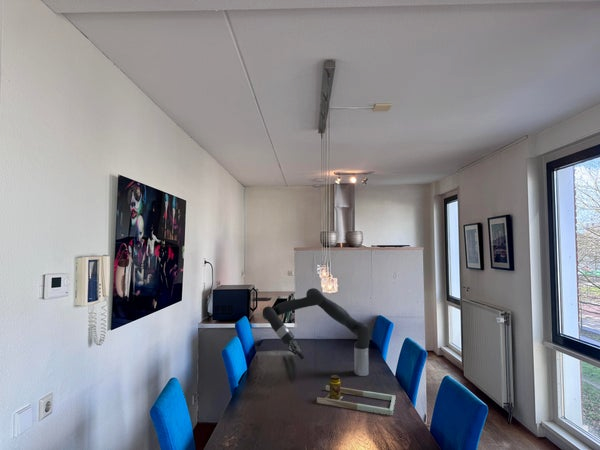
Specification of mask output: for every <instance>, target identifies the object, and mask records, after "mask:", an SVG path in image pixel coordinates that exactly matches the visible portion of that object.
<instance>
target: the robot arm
mask: <svg viewBox="0 0 600 450" xmlns="http://www.w3.org/2000/svg"><path fill="white" fill-rule="evenodd" d="M305 295H306V296H305V297H302V298H297V299H296V298H295V299H289V300H285V301H283V302H279V303H277V304H276V305H275V306H272V307H271V306H269V305H268V306H265V307H263V309H262V318H263V319H264V320H266V321H267V322H268V323H269V324H270V327H271V329H272V330H273V331H274V333H276V335H277V337H278V338H279V339H280V341H281V342H282V344H283V345H285V346H286V345H287V347H288V349H287V350H288V351H290V353H292V354H294V355H297V356H298V357H299V358H300V360H303V359H305V354H304V353H303V352H302V346H301V345H300V342H299V341H296V340H295V339H294V338H295V335H294V334H293V332H292V331H291V330H290V329H289V328H288V326H286V325H285V323H284V322H283V321H282V320H281V318H280V317H279V316H282V315H284V314H287V313H290V312H292V311H295V310H299V309H303V308H308V307H313V306H314V307H315V306H318V307H319V308H321V309H322V310H323V311H324V312H325V313H326V314H327V315H328V316H329V317H330V318H332V319H333V320H334V321H336V322H338V323H339V324H341V325H343V326H344V327H345V328H347V329H348V330H349V331H350V332H351V333H352V334H353V335H355V336H356V337H357V341H355V342H354V344H353V345H354V346H353V347H354V349H353V350H354V353H353V354H354V356H353V357H354V360H353V361H354V374H355V375H356V376H358V377H359V376H360V377H365V376H369V346H370V333H371V332H370V331H371V330H370V327H369V326H368V325H367V324H366V323H363V322H360V321H358V320H356V319H354V317H352V316H351V315H350V314H349V313H348V311H347V310H346V309H345V308H343V307H342V306H340V305H339V304H337V303H336V302H334V301H332V300H331V299H329V298H327V297H326V296H325V295H324V294H323V293H322V292H321V291H320V290H319V289H317V288H314V287H312V288H308V290H307V291H306V294H305Z"/></svg>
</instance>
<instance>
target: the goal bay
mask: <svg viewBox="0 0 600 450" xmlns="http://www.w3.org/2000/svg"><path fill="white" fill-rule="evenodd" d="M362 391H363V396H362V397H367V398H372V399H378V400H384V401H390V400H391V402H390V406H389V408H386V407H381V406H375V405H369V404H362V403H358V404H357V410H358V411H362V412H369V413H373V412H374V414H379V413H380V414H379V415H385V414H387V416H391V415H392V416H393V414H394V411H393V410H395V409H394V408H395V406H394V405H395V404H396V401H395V400H396V397H397V396H396V395H395V394H394V395H393V394H387V393H382V392H381V393H380V392H374V391H370V390H369V391H368V390H367V391H366V390H362Z"/></svg>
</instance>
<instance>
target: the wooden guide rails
mask: <svg viewBox="0 0 600 450" xmlns="http://www.w3.org/2000/svg"><path fill="white" fill-rule="evenodd" d="M340 388H341V394H347V395H352V396H353V395H354V396H357V397H358V396H359V397H364V396H363V391H364V390H361V389H355V388H347V387H342V386H340ZM325 391H327V392H330V384H329V385H328V384H326V385H325ZM316 403H317V404H322V405H327V406H335V407H339V408H346V409H351V410H357V404H359V403H357V402H351V401H345V400H334V399H327V398H325V397H321V396H320V397H319V396H317V397H316Z"/></svg>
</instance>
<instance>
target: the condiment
mask: <svg viewBox="0 0 600 450" xmlns="http://www.w3.org/2000/svg"><path fill="white" fill-rule="evenodd" d="M329 377H330V378H329V379H330V381H329V386H330V391H329V394H327V396H325V397H324V398H327V399H334V400H340V401H342V399H343V397H344V396H341V394H342V393H341V388H340V387H342V386H341V385H342V384H341V377H340V376H339V375H337V374H333V375H330V376H329Z"/></svg>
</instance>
